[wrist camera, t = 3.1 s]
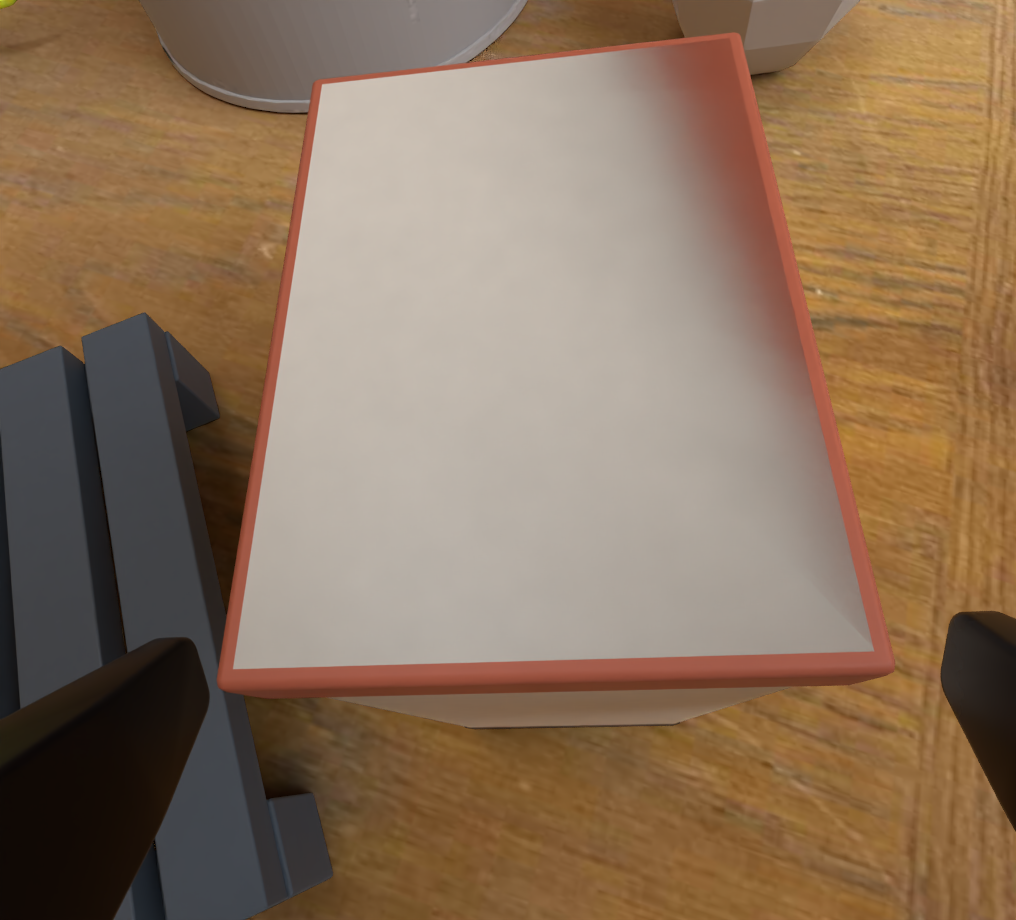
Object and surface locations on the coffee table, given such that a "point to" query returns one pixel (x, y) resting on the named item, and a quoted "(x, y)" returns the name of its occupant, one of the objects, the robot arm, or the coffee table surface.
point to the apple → (764, 26)
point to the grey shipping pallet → (137, 601)
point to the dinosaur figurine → (6, 3)
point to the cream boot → (546, 407)
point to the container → (316, 41)
